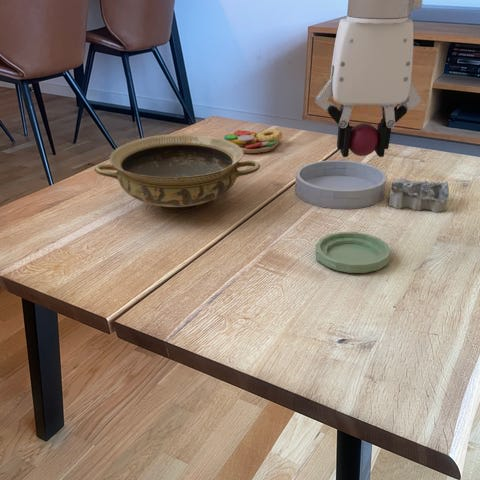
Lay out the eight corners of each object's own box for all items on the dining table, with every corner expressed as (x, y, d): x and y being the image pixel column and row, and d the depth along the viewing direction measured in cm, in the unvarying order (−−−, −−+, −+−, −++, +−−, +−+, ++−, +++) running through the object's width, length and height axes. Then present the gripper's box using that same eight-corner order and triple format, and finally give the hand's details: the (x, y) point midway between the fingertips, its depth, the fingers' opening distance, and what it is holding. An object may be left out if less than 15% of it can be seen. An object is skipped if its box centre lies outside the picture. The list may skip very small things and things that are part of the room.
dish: (374, 175, 117) (376, 159, 115) (393, 208, 103) (396, 190, 101) (292, 176, 117) (293, 160, 115) (299, 209, 103) (300, 191, 101)
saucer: (380, 241, 91) (381, 231, 90) (395, 275, 82) (397, 264, 81) (312, 242, 91) (313, 232, 90) (320, 275, 82) (320, 264, 81)
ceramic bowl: (89, 233, 95) (78, 177, 90) (111, 184, 115) (104, 135, 109) (263, 229, 96) (264, 173, 90) (256, 180, 116) (256, 132, 110)
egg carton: (385, 208, 103) (388, 187, 101) (389, 193, 109) (392, 173, 106) (446, 214, 100) (450, 192, 98) (446, 199, 106) (450, 178, 104)
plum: (373, 150, 81) (377, 119, 78) (379, 160, 77) (384, 127, 75) (343, 150, 81) (346, 119, 78) (348, 160, 77) (351, 128, 75)
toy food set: (286, 142, 138) (287, 128, 136) (269, 157, 128) (269, 143, 126) (236, 137, 142) (236, 124, 140) (216, 152, 132) (216, 138, 130)
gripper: (438, 4, 72) (414, 146, 82) (307, 5, 72) (300, 146, 82) (455, 9, 65) (427, 162, 76) (313, 11, 66) (304, 163, 76)
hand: (361, 152), depth 79 cm, fingers closed on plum, 4 cm apart
